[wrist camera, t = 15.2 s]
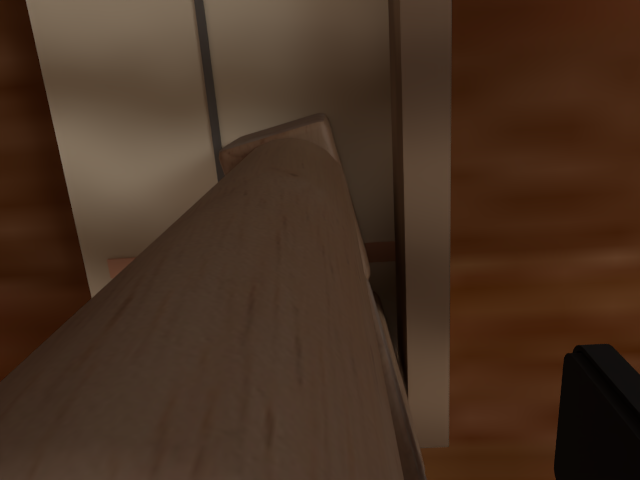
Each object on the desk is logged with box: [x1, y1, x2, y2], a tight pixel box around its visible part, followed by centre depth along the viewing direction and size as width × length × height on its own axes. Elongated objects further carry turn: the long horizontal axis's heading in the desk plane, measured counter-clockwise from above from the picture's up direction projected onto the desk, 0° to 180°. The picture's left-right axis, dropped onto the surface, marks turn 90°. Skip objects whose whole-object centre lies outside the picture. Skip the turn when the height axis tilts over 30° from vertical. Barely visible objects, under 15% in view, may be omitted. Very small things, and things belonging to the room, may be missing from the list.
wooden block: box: [0, 113, 427, 480], centre depth 12 cm, size 4×11×18 cm, turn 17°
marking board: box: [26, 0, 452, 448], centre depth 18 cm, size 28×14×5 cm, turn 4°
